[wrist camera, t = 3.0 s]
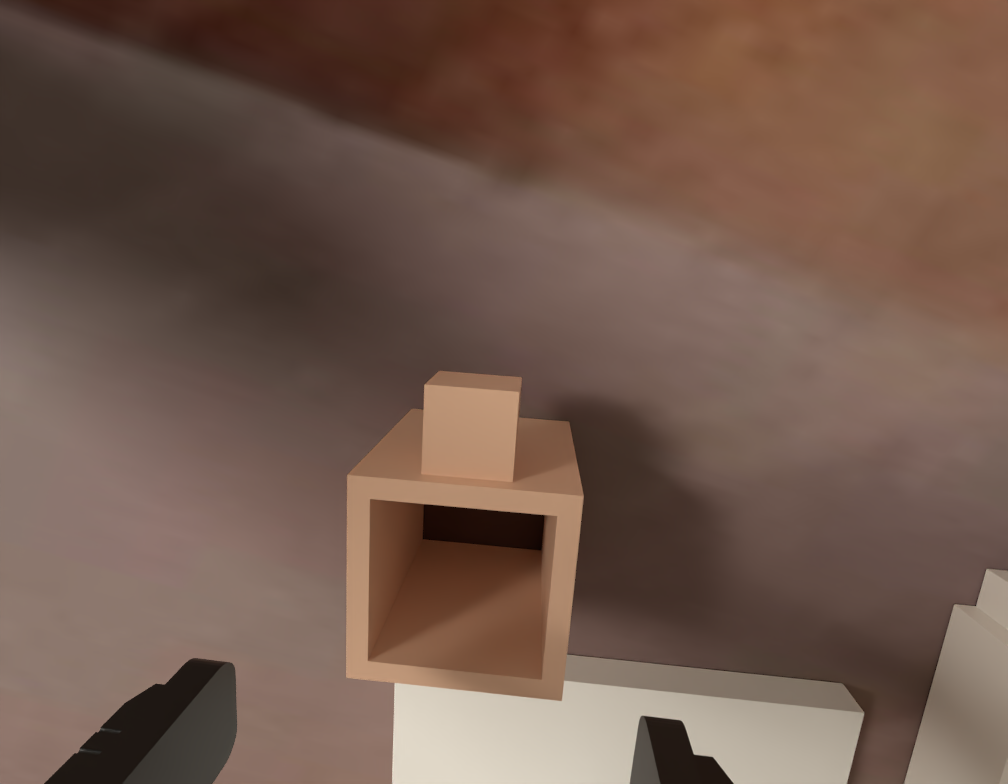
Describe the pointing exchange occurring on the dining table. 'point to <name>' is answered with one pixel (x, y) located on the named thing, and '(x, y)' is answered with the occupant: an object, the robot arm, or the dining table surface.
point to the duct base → (626, 727)
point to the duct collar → (463, 546)
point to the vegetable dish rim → (968, 696)
